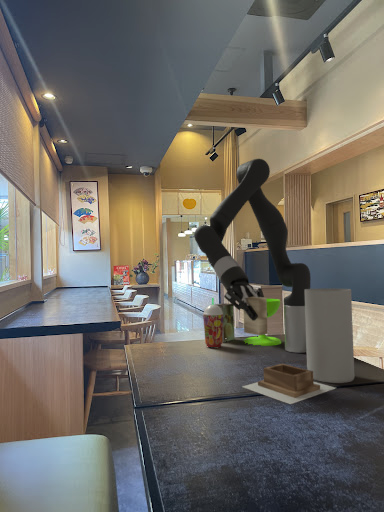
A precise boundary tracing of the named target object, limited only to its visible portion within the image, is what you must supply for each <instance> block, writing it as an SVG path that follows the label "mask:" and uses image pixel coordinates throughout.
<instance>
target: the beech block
mask: <svg viewBox="0 0 384 512" xmlns="http://www.w3.org/2000/svg"><path fill="white" fill-rule="evenodd" d="M266 299H267V297H264V298H263V297H248V301H249V303H250V306H252V307H253V309H254V310H255V312H256V313H257V315H258V317H257V319H256V320H254V321H252V319H251V318H250V317H249V316H248V314H247V313H246V311H244V310H243V332H244V333H245V334H250V335H256V336H259V335H264V334H265V335H268V318H267V301H266Z"/></svg>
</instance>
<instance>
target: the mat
mask: <svg viewBox="0 0 384 512" xmlns="http://www.w3.org/2000/svg"><path fill="white" fill-rule="evenodd" d="M313 382H314V384H318V385H320V389H319V390H316V391H313V392H310V393H307V394H305V395H302V396H299V397H296V398H294V397H291V396H288V395H285V394H282V393H279V392H276V391H273V390H270V389H267V388H264V387H261V386H258V381H257V382H253V383H250V384H246V385H242V386H241V388H244V389H246V390H249V391H252V392H255V393H257V394H261V395H263V396H266V397H269V398H272V399H274V400H278V401H280V402H283V403H286V404H289V405H293V404H296V403H298V402H301V401H304V400H307V399H309V398H312V397H315V396H318V395H322V394H324V393H326V392H330V391H333V390H335V389H336V386H335V387H334V386H330V385H328V384H324V383H320V382H317V381H313Z"/></svg>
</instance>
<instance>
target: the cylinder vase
mask: <svg viewBox="0 0 384 512" xmlns="http://www.w3.org/2000/svg"><path fill="white" fill-rule="evenodd" d="M352 300H353V299H352V289H350V288H333V287H331V288H310V289H305V319H306V349H307V352H306V370H310V371H313V381H316V382H317V381H318V382H322V383H330V384H345V383H350V382H353V381H354V380H355V357H354V355H355V353H354V330H353V304H352Z"/></svg>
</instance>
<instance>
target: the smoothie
mask: <svg viewBox="0 0 384 512" xmlns="http://www.w3.org/2000/svg"><path fill="white" fill-rule="evenodd" d="M214 299H215V298H214V297H211V304H210V305H207V306H206V308H205V309H204V310H203V313H202V317H203V329H204V341H205V342H204V343H205V345H206V347H207V346H208V347H219V348H221V347H222V344H223V342H222V334H223V312H222V310H221V308H220V307H219V306H217V305H215V304H216V303H215V302H214ZM214 303H215V304H214ZM208 347H207V348H208Z"/></svg>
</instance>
